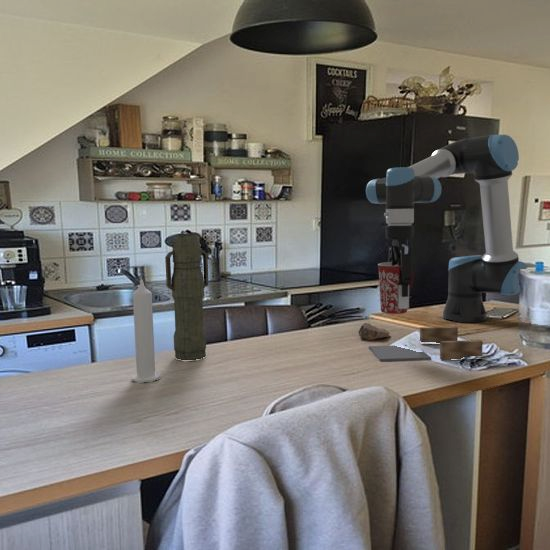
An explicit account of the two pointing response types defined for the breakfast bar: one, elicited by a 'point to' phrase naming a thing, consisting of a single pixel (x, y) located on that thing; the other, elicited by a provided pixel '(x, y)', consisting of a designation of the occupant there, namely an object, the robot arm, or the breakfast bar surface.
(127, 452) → the breakfast bar surface
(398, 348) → the coaster
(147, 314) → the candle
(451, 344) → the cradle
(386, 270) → the mug
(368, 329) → the rock
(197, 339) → the thermos
